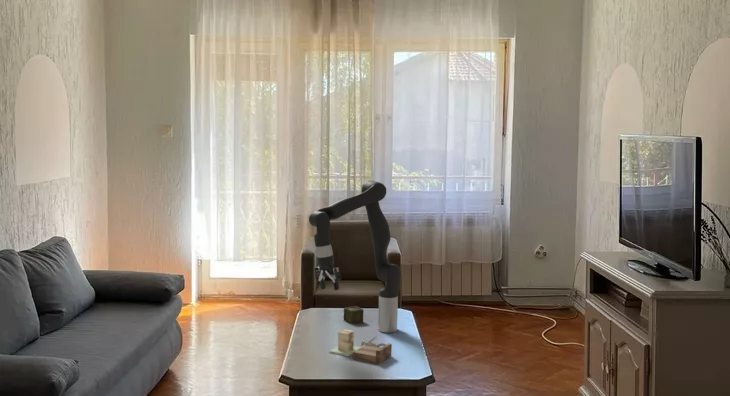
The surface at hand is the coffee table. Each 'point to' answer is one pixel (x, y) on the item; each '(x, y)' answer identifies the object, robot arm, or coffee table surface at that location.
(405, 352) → the coffee table surface
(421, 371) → the coffee table surface
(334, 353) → the pad
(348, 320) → the olive green cube
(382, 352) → the walnut ledge
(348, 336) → the birch block
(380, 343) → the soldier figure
